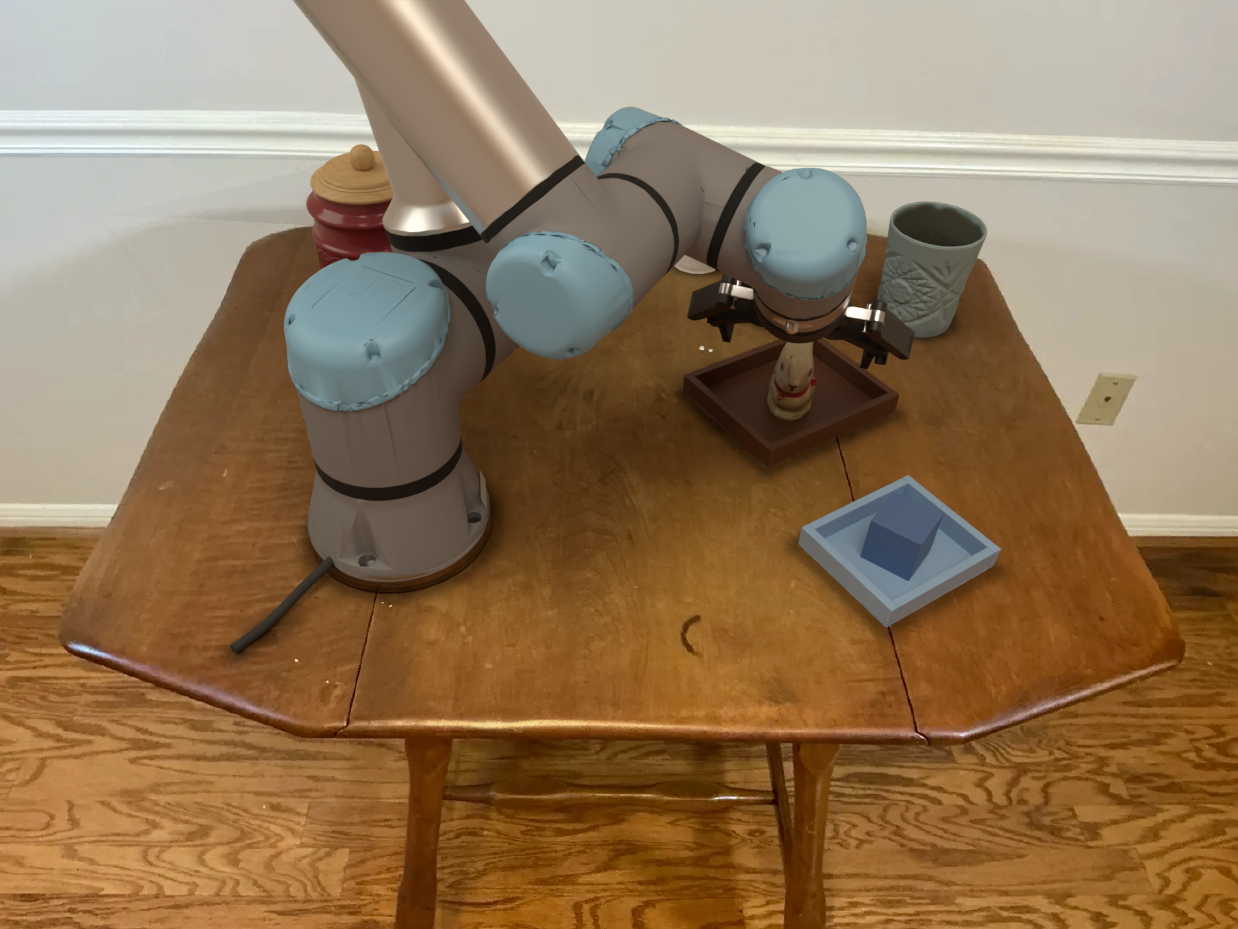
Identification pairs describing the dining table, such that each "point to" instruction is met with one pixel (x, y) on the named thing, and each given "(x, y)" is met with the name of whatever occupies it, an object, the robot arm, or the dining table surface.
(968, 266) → the drinking glass
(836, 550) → the blue tray
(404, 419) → the robot arm
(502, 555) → the dining table surface
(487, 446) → the dining table surface
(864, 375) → the brown tray
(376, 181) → the kitchen canister
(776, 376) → the chocolate bunny
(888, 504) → the slate-blue block
